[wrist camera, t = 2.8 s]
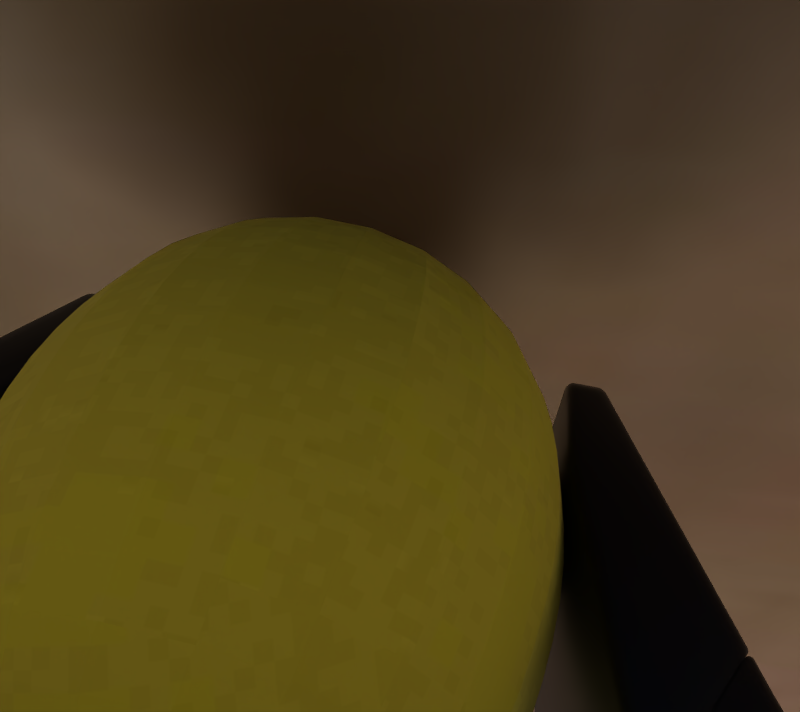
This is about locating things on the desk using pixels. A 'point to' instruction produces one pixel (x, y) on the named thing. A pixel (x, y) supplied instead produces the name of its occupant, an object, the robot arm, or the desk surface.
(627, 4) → the desk surface
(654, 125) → the desk surface
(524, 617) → the lemon
